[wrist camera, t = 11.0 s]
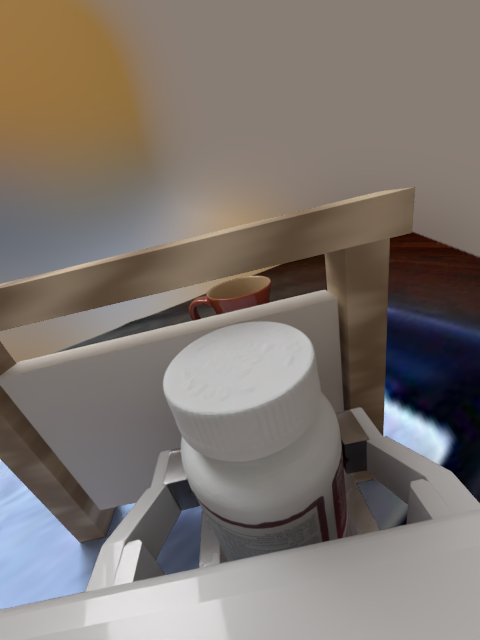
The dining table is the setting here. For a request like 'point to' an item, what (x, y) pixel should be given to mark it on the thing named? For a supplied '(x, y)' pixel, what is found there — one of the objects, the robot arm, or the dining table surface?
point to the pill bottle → (259, 438)
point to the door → (143, 394)
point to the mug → (234, 295)
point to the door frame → (201, 266)
